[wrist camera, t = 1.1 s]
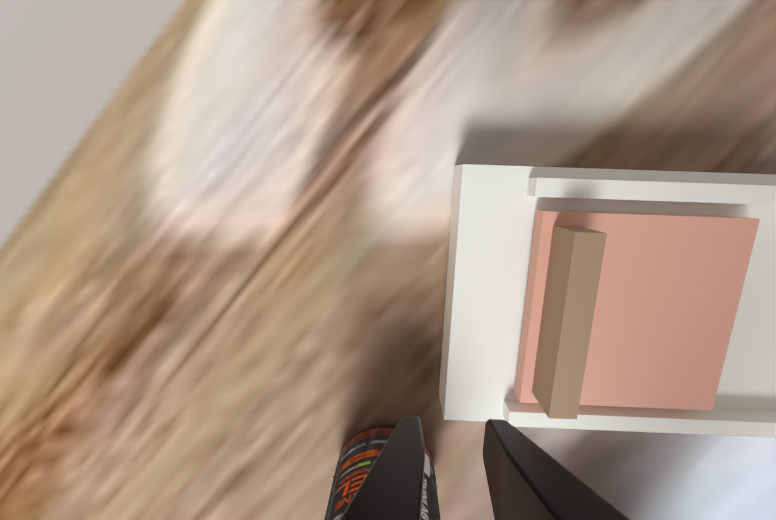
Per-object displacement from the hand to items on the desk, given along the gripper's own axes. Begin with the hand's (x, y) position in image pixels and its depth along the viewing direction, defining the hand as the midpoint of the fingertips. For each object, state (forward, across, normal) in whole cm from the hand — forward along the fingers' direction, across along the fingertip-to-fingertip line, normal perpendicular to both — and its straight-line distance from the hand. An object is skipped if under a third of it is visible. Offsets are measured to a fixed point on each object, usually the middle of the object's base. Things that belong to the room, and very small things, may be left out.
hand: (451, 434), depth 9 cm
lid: (+9, -10, 0) cm, 13 cm away
